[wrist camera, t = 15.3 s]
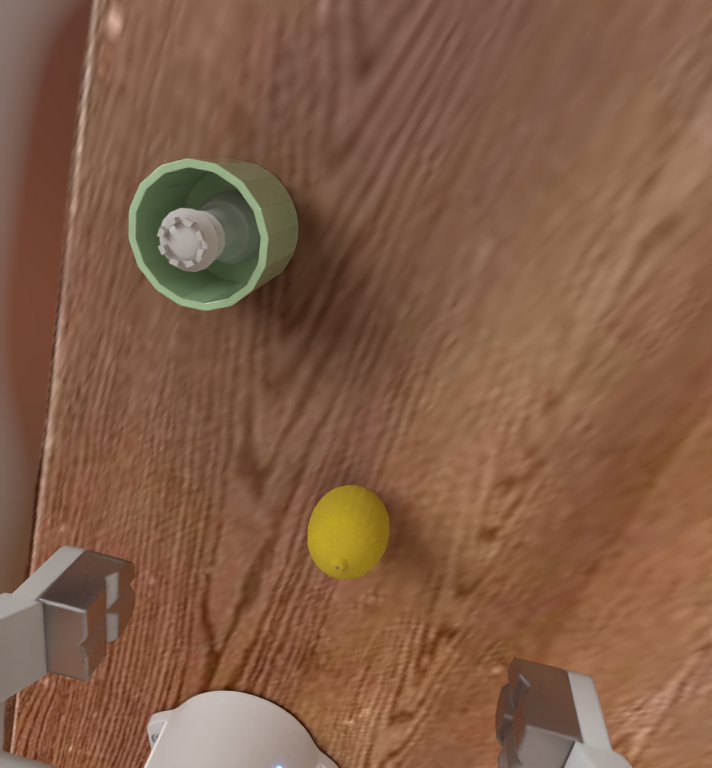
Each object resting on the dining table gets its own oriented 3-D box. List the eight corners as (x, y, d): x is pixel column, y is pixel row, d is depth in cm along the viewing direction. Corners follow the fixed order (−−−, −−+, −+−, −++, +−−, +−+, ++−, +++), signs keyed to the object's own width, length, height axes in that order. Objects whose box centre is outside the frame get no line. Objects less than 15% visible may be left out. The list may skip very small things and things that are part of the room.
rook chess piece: (211, 265, 38) (151, 291, 30) (195, 194, 36) (128, 202, 29) (276, 257, 37) (230, 282, 29) (263, 184, 35) (211, 190, 28)
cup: (290, 297, 38) (259, 322, 32) (178, 273, 39) (127, 294, 33) (306, 172, 35) (275, 174, 29) (184, 149, 36) (129, 146, 30)
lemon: (369, 453, 41) (350, 517, 34) (409, 511, 43) (398, 585, 35) (308, 484, 43) (277, 551, 36) (347, 539, 44) (326, 615, 37)
